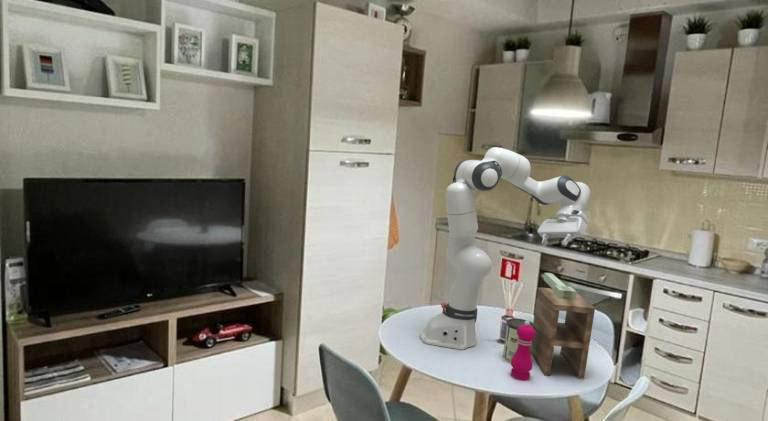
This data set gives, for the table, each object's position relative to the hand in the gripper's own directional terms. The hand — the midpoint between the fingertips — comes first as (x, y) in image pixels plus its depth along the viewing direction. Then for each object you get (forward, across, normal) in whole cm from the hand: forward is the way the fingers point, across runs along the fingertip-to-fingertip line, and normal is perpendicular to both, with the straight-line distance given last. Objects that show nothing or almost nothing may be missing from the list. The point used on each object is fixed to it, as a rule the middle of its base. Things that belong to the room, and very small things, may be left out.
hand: (553, 244), depth 203 cm
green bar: (+15, +4, +8) cm, 18 cm away
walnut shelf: (+40, +7, +21) cm, 46 cm away
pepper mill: (+53, +8, +6) cm, 54 cm away
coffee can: (+45, -3, +12) cm, 47 cm away
